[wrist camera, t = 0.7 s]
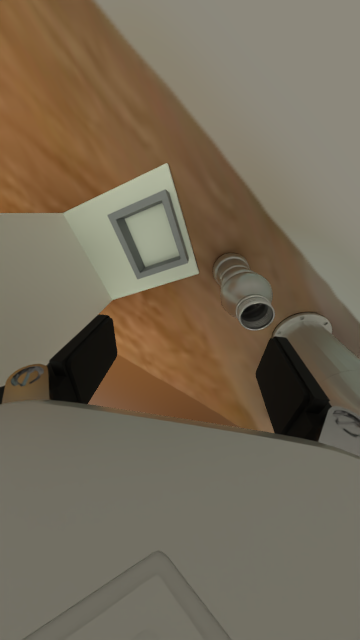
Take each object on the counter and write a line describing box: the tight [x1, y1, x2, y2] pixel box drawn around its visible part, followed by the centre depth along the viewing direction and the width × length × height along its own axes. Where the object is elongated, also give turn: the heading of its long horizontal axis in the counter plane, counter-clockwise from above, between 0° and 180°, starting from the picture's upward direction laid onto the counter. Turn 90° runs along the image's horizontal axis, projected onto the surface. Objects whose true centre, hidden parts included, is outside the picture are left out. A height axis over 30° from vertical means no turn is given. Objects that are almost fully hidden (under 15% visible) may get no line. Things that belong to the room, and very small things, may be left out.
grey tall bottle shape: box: [213, 253, 275, 330], centre depth 27 cm, size 6×7×20 cm
